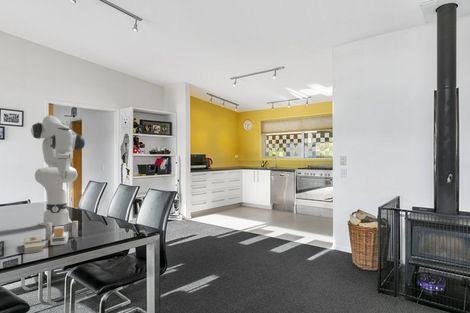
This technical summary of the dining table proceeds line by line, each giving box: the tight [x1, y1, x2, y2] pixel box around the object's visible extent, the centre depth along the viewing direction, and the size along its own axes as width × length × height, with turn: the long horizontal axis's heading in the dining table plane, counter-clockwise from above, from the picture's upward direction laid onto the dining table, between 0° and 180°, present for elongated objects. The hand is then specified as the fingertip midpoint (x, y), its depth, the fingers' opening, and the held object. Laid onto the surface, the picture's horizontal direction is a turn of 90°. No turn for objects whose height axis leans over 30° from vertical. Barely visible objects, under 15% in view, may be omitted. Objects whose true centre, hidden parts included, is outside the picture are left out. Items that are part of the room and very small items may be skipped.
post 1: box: [45, 223, 53, 241], centre depth 169 cm, size 3×3×9 cm
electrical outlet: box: [23, 235, 44, 255], centre depth 153 cm, size 7×4×18 cm
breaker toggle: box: [53, 225, 65, 236], centre depth 161 cm, size 2×4×4 cm, turn 113°
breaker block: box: [49, 230, 70, 246], centre depth 164 cm, size 12×7×4 cm, turn 23°
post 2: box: [71, 220, 79, 239], centre depth 174 cm, size 3×3×9 cm
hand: (64, 178), depth 178 cm, fingers open, 8 cm apart
